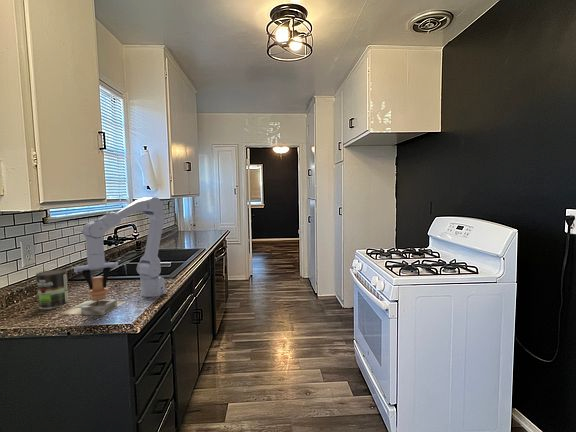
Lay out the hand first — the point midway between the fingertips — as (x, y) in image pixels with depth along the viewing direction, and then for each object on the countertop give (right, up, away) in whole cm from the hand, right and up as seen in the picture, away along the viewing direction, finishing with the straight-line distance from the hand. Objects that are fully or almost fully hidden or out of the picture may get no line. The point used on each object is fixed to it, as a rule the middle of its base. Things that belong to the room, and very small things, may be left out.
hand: (98, 288), depth 124 cm
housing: (-4, -10, +3) cm, 11 cm away
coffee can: (-25, -10, +11) cm, 29 cm away
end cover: (0, -4, 0) cm, 4 cm away
